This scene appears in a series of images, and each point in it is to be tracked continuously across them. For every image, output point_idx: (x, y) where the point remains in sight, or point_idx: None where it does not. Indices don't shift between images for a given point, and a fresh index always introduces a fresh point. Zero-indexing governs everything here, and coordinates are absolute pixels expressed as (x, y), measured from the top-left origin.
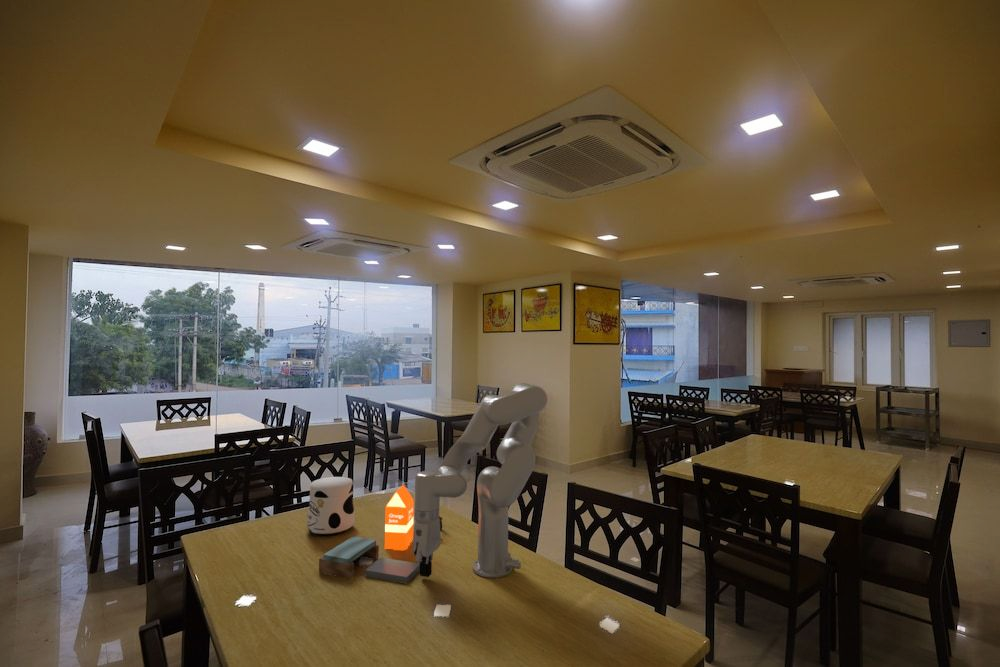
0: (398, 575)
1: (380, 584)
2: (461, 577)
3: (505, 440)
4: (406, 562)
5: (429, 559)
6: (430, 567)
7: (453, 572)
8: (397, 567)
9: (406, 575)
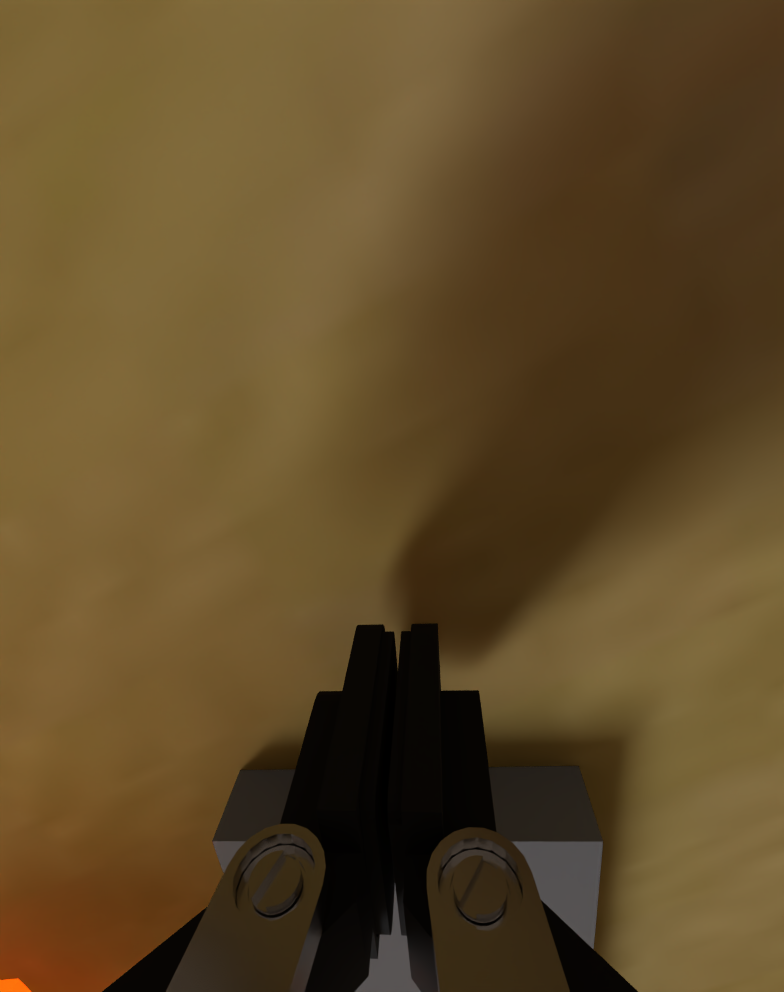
0: (589, 918)
1: (666, 931)
2: (90, 168)
3: None
4: None
5: (327, 895)
6: (368, 717)
7: (44, 391)
8: None
9: (563, 858)
